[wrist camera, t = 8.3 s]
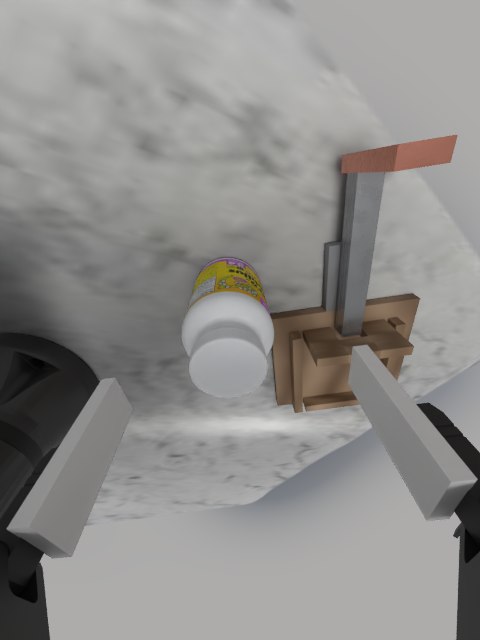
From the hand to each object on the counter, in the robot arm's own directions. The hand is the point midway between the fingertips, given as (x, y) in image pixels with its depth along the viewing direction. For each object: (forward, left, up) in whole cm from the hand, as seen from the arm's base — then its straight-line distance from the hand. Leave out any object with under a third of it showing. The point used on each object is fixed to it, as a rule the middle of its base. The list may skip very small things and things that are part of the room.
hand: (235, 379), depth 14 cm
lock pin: (+12, +2, -12) cm, 17 cm away
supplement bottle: (0, 0, -14) cm, 14 cm away
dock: (+12, -7, -13) cm, 19 cm away
